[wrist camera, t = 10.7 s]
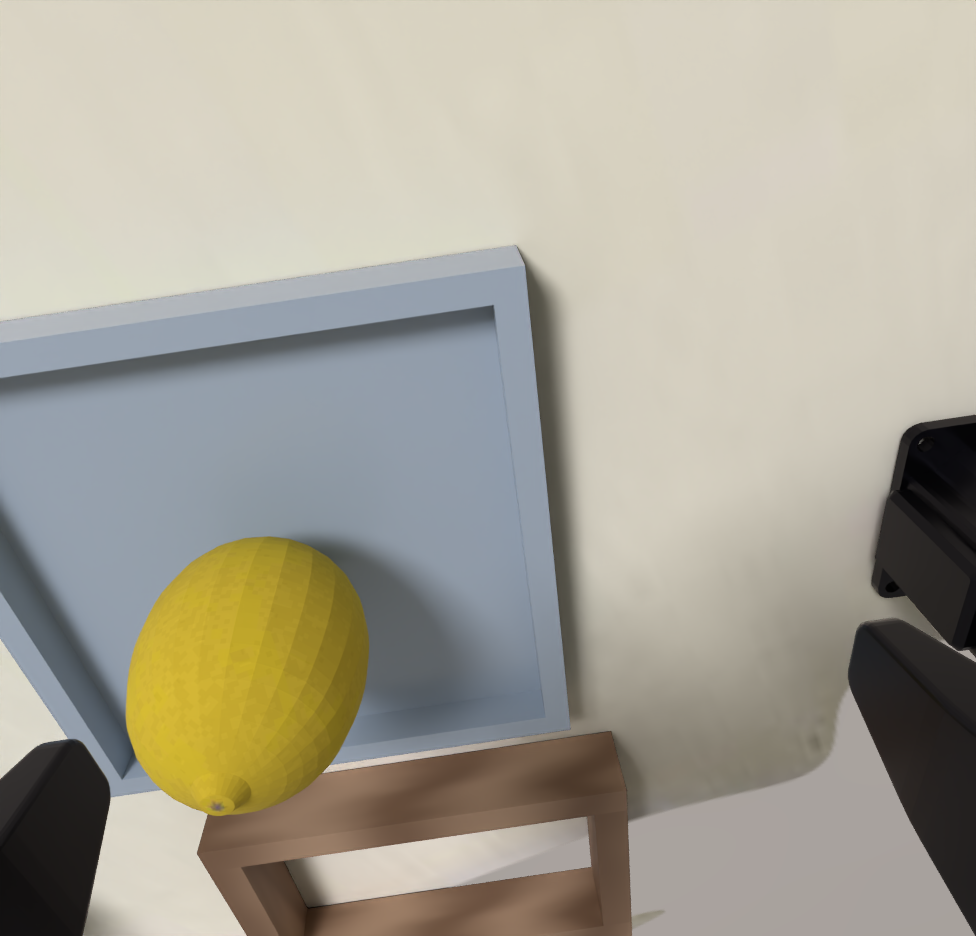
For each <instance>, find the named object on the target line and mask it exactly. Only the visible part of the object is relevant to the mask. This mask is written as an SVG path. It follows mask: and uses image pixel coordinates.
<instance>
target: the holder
mask: <svg viewBox="0 0 976 936" xmlns="http://www.w3.org/2000/svg"><path fill="white" fill-rule="evenodd" d="M585 816H587V821H588V832H589V844H590V855H591V865H592V867H588V868H581V869H574V870H568V871H561V872H554V873H548V874H540V875H534V876H527V877H520V878H513V879H506V880H500V881H493V882H486V883H480V884H472V885H466V886H459V887H452V888H445V889H438V890H432V891H425V892H418V893H411V894H404V895H398V896H391V897H384V898H377V899H370V900H364V901H357V902H350V903H343V904H336V905H330V906H323V907H316V908H309V909H307V907H306V905H305V903H304V901H303V899H302V897H301V895H300V893H299V891H298V889H297V887H296V885H295V883H294V881H293V879H292V877H291V875H290V873H289V871H288V869H287V867H286V865H285V863H284V861H286V860H293V859H300V858H306V857H313V856H320V855H327V854H334V853H340V852H347V851H354V850H361V849H368V848H374V847H381V846H388V845H395V844H402V843H408V842H415V841H422V840H429V839H436V838H442V837H449V836H456V835H463V834H470V833H476V832H483V831H490V830H497V829H504V828H510V827H517V826H524V825H531V824H538V823H544V822H551V821H558V820H565V819H572V818H578V817H585ZM197 855H198V856H199V858H200V860H201V861H202V863H203V864H204V866H205V868H206V869H207V871H208V873H209V874H210V876H211V878H212V879H213V881H214V882H215V884H216V886H217V887H218V889H219V891H220V892H221V894H222V896H223V897H224V899H225V900H226V902H227V904H228V905H229V907H230V909H231V910H232V912H233V914H234V915H235V917H236V919H237V920H238V922H239V923H240V925H241V927H242V928H243V930H244V932H245V933H246V935H247V936H632V922H631V896H630V869H629V842H628V814H627V790H626V786H625V782H624V779H623V775H622V771H621V767H620V764H619V760H618V756H617V753H616V749H615V745H614V741H613V738H612V734H611V731H610V732H603V733H597V734H590V735H583V736H576V737H569V738H563V739H556V740H549V741H542V742H535V743H529V744H522V745H515V746H508V747H502V748H495V749H488V750H481V751H474V752H468V753H461V754H454V755H447V756H440V757H434V758H427V759H420V760H413V761H406V762H400V763H393V764H386V765H379V766H373V767H366V768H359V769H352V770H345V771H339V772H332V773H325V774H320V775H319V776H318V777H317V778H316V779H315V780H314V781H313V782H312V784H311V785H309V786H308V787H306V788H305V789H303V790H302V791H301V792H299V793H297V794H296V795H294V796H292V797H291V798H289V799H287V800H286V801H284V802H282V803H279V804H277V805H275V806H272V807H269V808H266V809H263V810H260V811H255V812H250V813H243V814H237V815H223V816H213V815H209V814H208V815H207V819H206V823H205V826H204V830H203V833H202V837H201V841H200V844H199V848H198V851H197Z"/></svg>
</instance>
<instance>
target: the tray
mask: <svg viewBox="0 0 976 936" xmlns="http://www.w3.org/2000/svg"><path fill="white" fill-rule="evenodd" d="M266 536H271V537H279V538H287V539H291V540H294V541H297V542H300V543H303V544H306V545H309V546H310V547H312V548H314V549H316V550H317V551H319V552H321V553H322V554H324V555H326V556H327V557H329V558H330V559H331V560H332V561H333V562H334V563H335V564H336V565H337V566H338V567H339V568H340V569H341V570H342V571H343V572H344V573H345V574H346V575H347V577H348V579H349V580H350V582H351V584H352V585H353V587H354V589H355V590H356V592H357V594H358V596H359V598H360V601H361V604H362V607H363V611H364V615H365V620H366V624H367V629H368V635H369V659H368V669H367V678H366V685H365V690H364V694H363V698H362V701H361V704H360V707H359V710H358V713H357V715H356V718H355V720H354V723H353V725H352V727H351V729H350V731H349V733H348V735H347V737H346V739H345V741H344V743H343V745H342V747H341V749H340V751H339V752H338V754H337V755H336V757H335V758H334V760H333V761H332V763H331V764H330V765H333V764H340V763H347V762H354V761H361V760H367V759H374V758H381V757H388V756H395V755H401V754H408V753H415V752H422V751H428V750H435V749H442V748H449V747H456V746H462V745H469V744H476V743H483V742H490V741H496V740H503V739H510V738H517V737H524V736H530V735H537V734H544V733H551V732H557V731H564V730H571V728H570V718H569V708H568V698H567V688H566V677H565V667H564V657H563V647H562V637H561V627H560V616H559V606H558V596H557V586H556V576H555V566H554V556H553V545H552V535H551V525H550V515H549V505H548V495H547V484H546V474H545V464H544V454H543V444H542V434H541V423H540V413H539V403H538V393H537V383H536V373H535V363H534V352H533V342H532V332H531V322H530V312H529V302H528V291H527V281H526V271H525V264H524V262H523V260H522V257H521V255H520V253H519V251H518V248H517V246H516V245H514V246H507V247H500V248H494V249H487V250H480V251H473V252H467V253H460V254H453V255H446V256H440V257H433V258H426V259H419V260H413V261H406V262H399V263H392V264H386V265H379V266H372V267H365V268H359V269H352V270H345V271H338V272H332V273H325V274H318V275H311V276H305V277H298V278H291V279H284V280H278V281H271V282H264V283H257V284H250V285H244V286H237V287H230V288H223V289H217V290H210V291H203V292H196V293H190V294H183V295H176V296H169V297H163V298H156V299H149V300H142V301H136V302H129V303H122V304H115V305H109V306H102V307H95V308H88V309H82V310H75V311H68V312H61V313H55V314H48V315H41V316H34V317H28V318H21V319H14V320H7V321H1V322H0V639H1V640H2V642H3V643H4V645H5V646H6V648H7V649H8V651H9V652H10V654H11V655H12V657H13V658H14V659H15V661H16V662H17V664H18V665H19V667H20V668H21V670H22V671H23V673H24V674H25V676H26V677H27V679H28V680H29V682H30V683H31V685H32V686H33V688H34V689H35V690H36V692H37V693H38V695H39V696H40V698H41V699H42V701H43V702H44V704H45V705H46V707H47V708H48V710H49V711H50V713H51V714H52V716H53V717H54V718H55V720H56V721H57V723H58V724H59V726H60V727H61V729H62V730H63V732H64V733H65V735H66V736H67V738H68V739H77V740H79V741H81V742H83V744H84V745H85V746H86V747H87V749H88V750H89V752H90V753H91V755H92V756H93V758H94V759H95V761H96V762H97V764H98V766H99V767H100V769H101V770H102V772H103V773H104V775H105V776H106V778H107V780H108V782H109V786H110V792H111V797H116V796H123V795H130V794H136V793H143V792H150V791H157V790H161V789H160V788H159V787H158V786H157V785H156V784H155V783H154V782H153V781H152V780H151V778H150V777H149V776H148V774H147V773H146V772H145V770H144V769H143V768H142V766H141V765H140V763H139V761H138V760H137V758H136V755H135V752H134V749H133V746H132V743H131V740H130V737H129V734H128V731H127V725H126V697H127V682H128V674H129V667H130V662H131V658H132V654H133V651H134V647H135V644H136V642H137V639H138V637H139V634H140V632H141V630H142V628H143V626H144V624H145V622H146V619H147V617H148V615H149V613H150V611H151V609H152V608H153V606H154V604H155V602H156V601H157V599H158V598H159V596H160V595H161V593H162V592H163V591H164V590H165V588H166V587H167V586H168V585H169V584H170V583H171V582H172V581H173V580H174V579H175V578H176V577H177V576H178V575H179V574H180V573H181V572H182V571H183V569H185V568H186V567H187V566H188V565H189V564H190V563H191V562H192V561H194V560H195V559H197V558H198V557H200V556H202V555H204V554H205V553H207V552H209V551H210V550H212V549H214V548H216V547H217V546H220V545H223V544H225V543H229V542H232V541H236V540H239V539H243V538H251V537H266Z"/></svg>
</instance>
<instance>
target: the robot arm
mask: <svg viewBox="0 0 976 936" xmlns="http://www.w3.org/2000/svg"><path fill="white" fill-rule="evenodd" d="M925 437H926V438H925ZM923 438H925V440H924V441H923V442H922V443H921V444H918V443H919V441H920V440H922V439H923ZM875 558H876V563H875V567H874V572H873V577H872V586H873V587H874V589H875V590H876V591H877V592H878V593H879V595H880V596H882V597H884V598H893V597H900V596H908V598H909V599H910V600H911V601H912V602H913V603H914V604H915V606H916V607H917V608H918V609H919V610H920V611H921V613H922V614H923V615H924V616H925V617H926V618H927V620H928V621H929V622H930V623H931V624H932V625H933V627H934V628H935V629H936V630H937V631H938V632H939V633H940V635H941V636H942V637H943V638H944V639H945V640H946V642H947V643H948V644H949V645H951V646H952V647H953V648H955V649H956V650H958V651H963V650H970V652H971V653H972V654H973V655H974V656H975V657H976V415H971V416H964V417H958V418H951V419H944V420H937V421H931V422H924V423H919V424H916V425H914V426H912V427H911V428H909V429H908V430H907V431H906V432H905V433H904V435H903V437H902V439H901V443H900V448H899V453H898V457H897V462H896V467H895V472H894V477H893V481H892V486H891V491H890V495H889V497H888V499H887V502H886V507H885V512H884V517H883V522H882V526H881V531H880V536H879V541H878V546H877V551H876V555H875ZM848 680H849V685H850V688H851V691H852V694H853V696H854V698H855V701H856V703H857V705H858V707H859V709H860V712H861V714H862V716H863V718H864V721H865V723H866V725H867V727H868V730H869V732H870V734H871V736H872V739H873V741H874V743H875V745H876V748H877V750H878V752H879V754H880V757H881V759H882V761H883V763H884V765H885V768H886V770H887V772H888V774H889V777H890V779H891V781H892V783H893V786H894V788H895V790H896V792H897V794H898V797H899V799H900V801H901V803H902V805H903V807H904V809H905V812H906V814H907V816H908V818H909V820H910V822H911V824H912V825H913V827H914V829H915V831H916V833H917V835H918V836H919V838H920V840H921V842H922V844H923V845H924V847H925V849H926V850H927V852H928V854H929V856H930V858H931V859H932V861H933V863H934V865H935V866H936V868H937V870H938V871H939V873H940V875H941V877H942V879H943V880H944V882H945V884H946V885H947V887H948V889H949V891H950V893H951V894H952V896H953V898H954V899H955V901H956V903H957V905H958V906H959V908H960V910H961V912H962V913H963V915H964V916H965V919H966V920H967V922H968V924H969V926H970V927H971V929H972V931H973V933H974V934H975V936H976V662H974V661H972V660H971V659H969V658H967V657H965V656H964V655H962V654H960V653H958V652H956V651H955V650H953V649H951V648H950V647H948V646H946V645H945V644H943V643H941V642H939V641H938V640H936V639H934V638H933V637H931V636H929V635H927V634H926V633H924V632H922V631H921V630H919V629H917V628H915V627H914V626H912V625H910V624H908V623H907V622H905V621H903V620H900V619H897V618H887V619H880V620H874V621H867V622H863V623H861V624H860V626H859V627H858V628H857V631H856V635H855V639H854V644H853V649H852V654H851V659H850V664H849V669H848ZM110 797H111V792H110V786H109V782H108V780H107V778H106V776H105V775H104V773H103V772H102V770H101V769H100V767H99V766H98V764H97V762H96V761H95V759H94V758H93V756H92V755H91V753H90V752H89V750H88V749H87V747H86V746H85V745H84V744H83V742H81V741H79V740H77V739H67V740H60V741H53V742H47V743H43V744H41V745H39V746H37V747H35V748H34V749H33V750H32V751H30V752H29V753H28V754H27V755H26V756H25V757H24V758H23V759H22V760H21V761H19V762H18V763H17V764H16V765H15V766H14V767H13V768H12V769H11V770H10V771H9V772H8V773H6V774H5V775H4V776H3V777H2V778H1V779H0V936H83V931H84V927H85V923H86V918H87V914H88V909H89V904H90V899H91V894H92V889H93V884H94V879H95V874H96V869H97V865H98V860H99V855H100V850H101V845H102V840H103V835H104V830H105V825H106V820H107V815H108V811H109V806H110Z"/></svg>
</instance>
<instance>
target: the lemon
mask: <svg viewBox="0 0 976 936" xmlns="http://www.w3.org/2000/svg"><path fill="white" fill-rule="evenodd" d="M368 659H369V635H368V629H367V624H366V620H365V615H364V611H363V607H362V604H361V601H360V598H359V596H358V594H357V592H356V590H355V589H354V587H353V585H352V584H351V582H350V580H349V579H348V577H347V575H346V574H345V573H344V572H343V571H342V570H341V569H340V568H339V567H338V566H337V565H336V564H335V563H334V562H333V561H332V560H331V559H330V558H329V557H327V556H326V555H324V554H322V553H321V552H319V551H317V550H316V549H314V548H312V547H310V546H309V545H306V544H303V543H300V542H297V541H294V540H291V539H287V538H279V537H271V536H266V537H251V538H243V539H239V540H236V541H232V542H229V543H225V544H223V545H220V546H217V547H216V548H214V549H212V550H210V551H209V552H207V553H205V554H204V555H202V556H200V557H198V558H197V559H195V560H194V561H192V562H191V563H190V564H189V565H188V566H187V567H186V568H185V569H183V571H182V572H181V573H180V574H179V575H178V576H177V577H176V578H175V579H174V580H173V581H172V582H171V583H170V584H169V585H168V586H167V587H166V588H165V590H164V591H163V592H162V593H161V595H160V596H159V598H158V599H157V601H156V602H155V604H154V606H153V608H152V609H151V611H150V613H149V615H148V617H147V619H146V622H145V624H144V626H143V628H142V630H141V632H140V634H139V637H138V639H137V642H136V644H135V647H134V651H133V654H132V658H131V662H130V667H129V674H128V682H127V697H126V725H127V731H128V734H129V737H130V740H131V743H132V746H133V749H134V752H135V755H136V758H137V760H138V761H139V763H140V765H141V766H142V768H143V769H144V770H145V772H146V773H147V774H148V776H149V777H150V778H151V780H152V781H153V782H154V783H155V784H156V785H157V786H158V787H159V788H160V789H161V790H163V791H164V792H165V793H166V794H168V795H169V796H170V797H172V798H173V799H175V800H177V801H179V802H181V803H183V804H185V805H187V806H189V807H191V808H193V809H196V810H200V811H203V812H205V813H207V814H209V815H213V816H223V815H237V814H243V813H250V812H255V811H260V810H263V809H266V808H269V807H272V806H275V805H277V804H279V803H282V802H284V801H286V800H287V799H289V798H291V797H292V796H294V795H296V794H297V793H299V792H301V791H302V790H303V789H305V788H306V787H308V786H309V785H311V784H312V782H313V781H314V780H315V779H316V778H317V777H318V776H319V775H320V774H321V773H322V772H323V771H324V770H325V769H326V768H327V767H328V766H329V765H330V764H331V763H332V761H333V760H334V758H335V757H336V755H337V754H338V752H339V751H340V749H341V747H342V745H343V743H344V741H345V739H346V737H347V735H348V733H349V731H350V729H351V727H352V725H353V723H354V720H355V718H356V715H357V713H358V710H359V707H360V704H361V701H362V698H363V694H364V690H365V685H366V678H367V669H368Z"/></svg>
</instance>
